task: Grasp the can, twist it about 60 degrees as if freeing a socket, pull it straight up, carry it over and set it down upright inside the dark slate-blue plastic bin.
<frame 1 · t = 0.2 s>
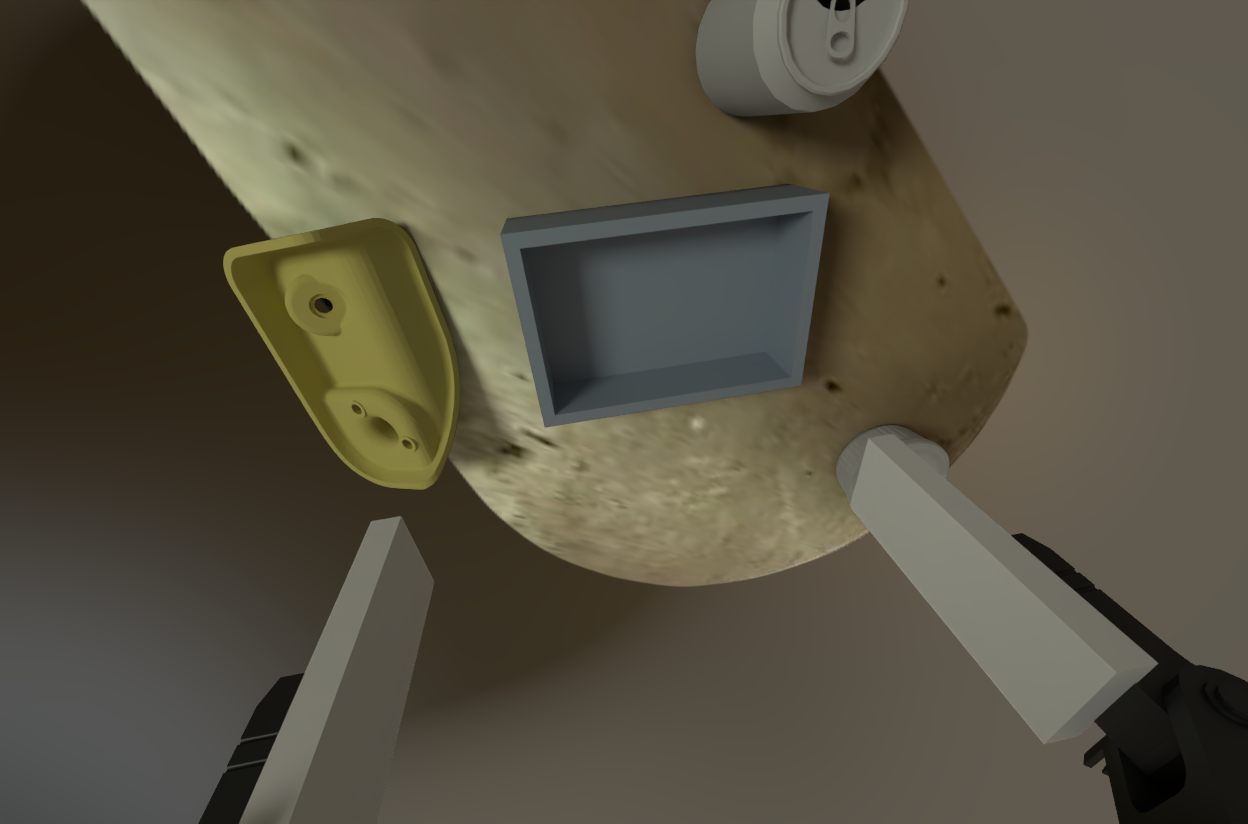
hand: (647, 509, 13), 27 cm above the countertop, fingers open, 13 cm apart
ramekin: (870, 454, 53), on the countertop
can: (744, 50, 30), on the countertop
bin: (656, 296, 38), on the countertop
plastic component: (374, 346, 37), on the countertop
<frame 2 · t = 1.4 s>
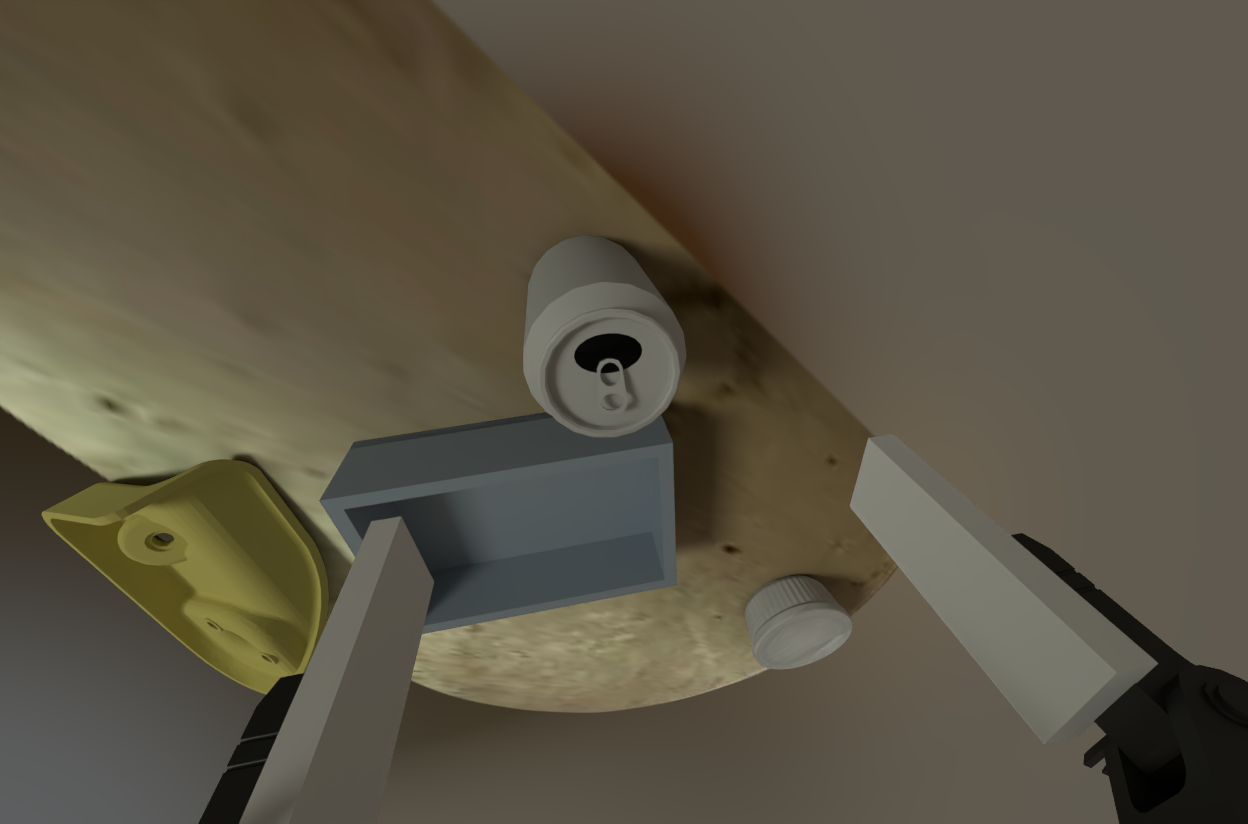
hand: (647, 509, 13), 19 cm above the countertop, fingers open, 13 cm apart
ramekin: (781, 597, 52), on the countertop
can: (586, 292, 29), on the countertop
bin: (528, 492, 37), on the countertop
plastic component: (238, 549, 36), on the countertop
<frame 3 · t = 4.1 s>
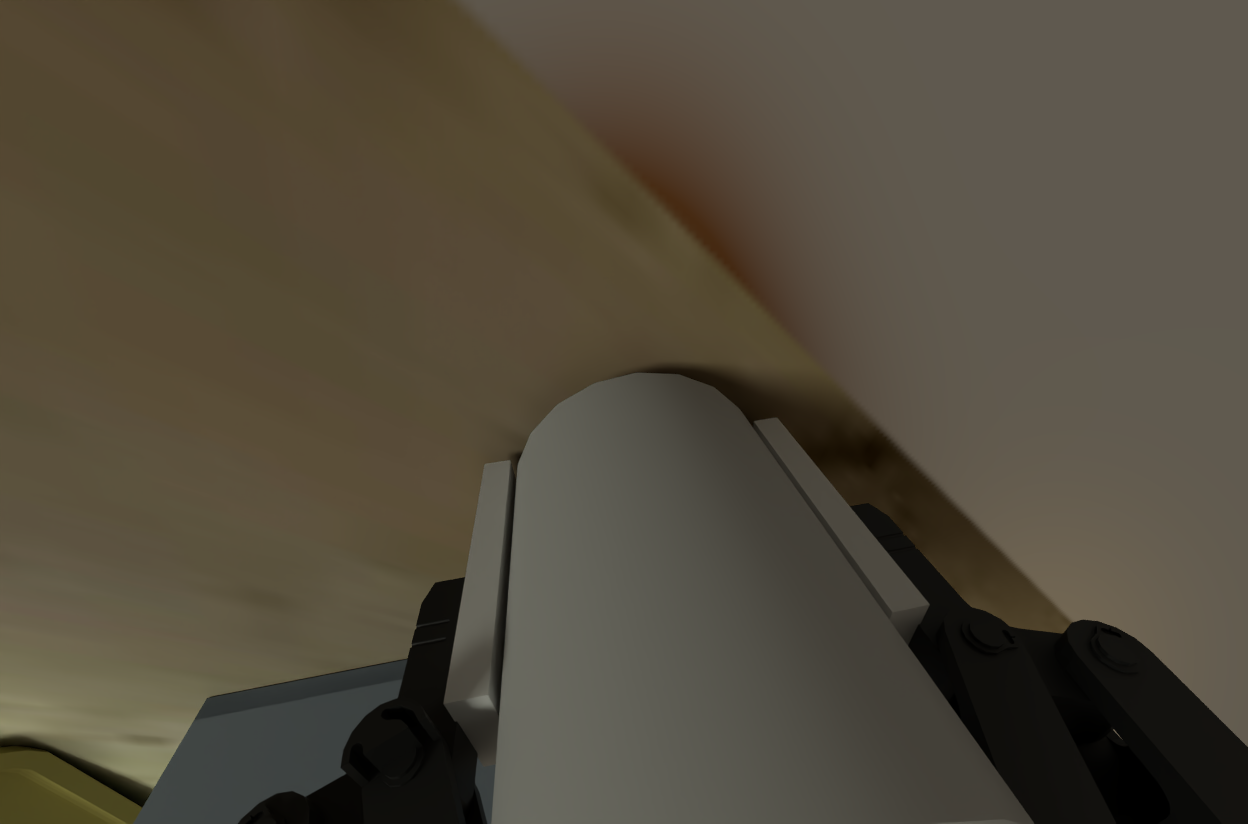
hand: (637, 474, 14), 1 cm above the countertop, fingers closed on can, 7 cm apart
can: (633, 457, 15), on the countertop, touching gripper
bin: (522, 724, 23), on the countertop
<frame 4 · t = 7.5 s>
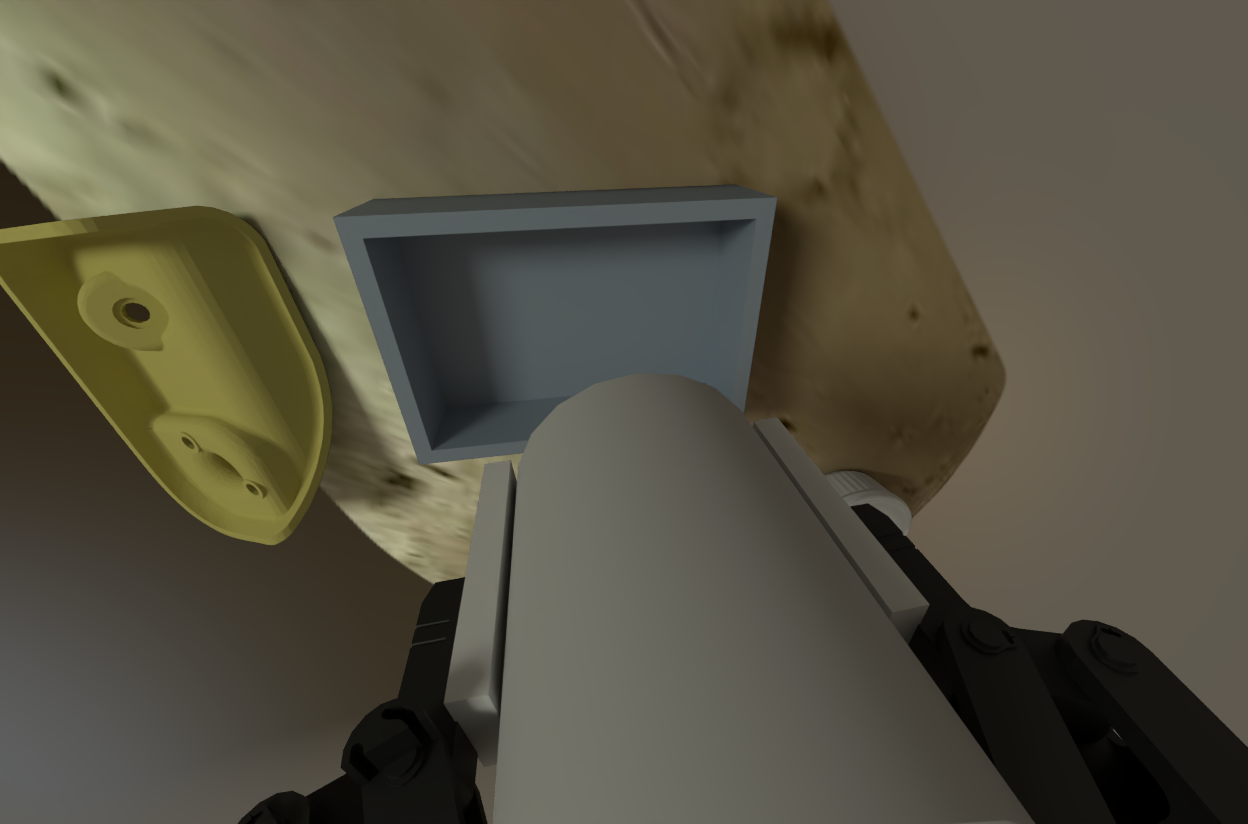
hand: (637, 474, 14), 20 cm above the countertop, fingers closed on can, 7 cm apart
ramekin: (826, 500, 47), on the countertop
can: (633, 458, 15), point 19 cm above the countertop, touching gripper
bin: (573, 309, 31), on the countertop
plastic component: (225, 363, 30), on the countertop
when the fingers open (3 cm above the countertop, at t = 11.0 s): can drops 2 cm, resting on bin.
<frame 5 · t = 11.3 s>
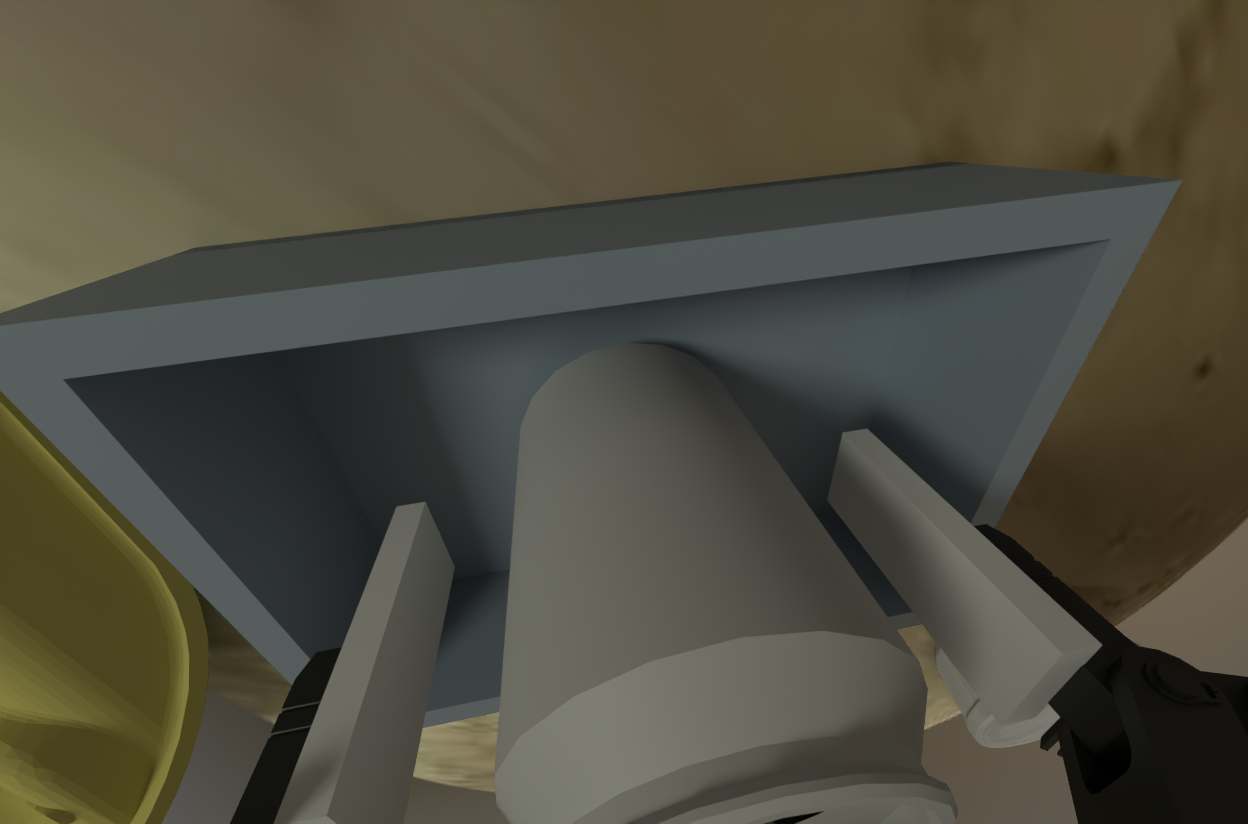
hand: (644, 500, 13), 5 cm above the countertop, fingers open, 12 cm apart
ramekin: (990, 625, 32), on the countertop
can: (624, 424, 16), point 1 cm above the countertop, touching bin
bin: (621, 416, 17), on the countertop
plastic component: (12, 564, 17), on the countertop
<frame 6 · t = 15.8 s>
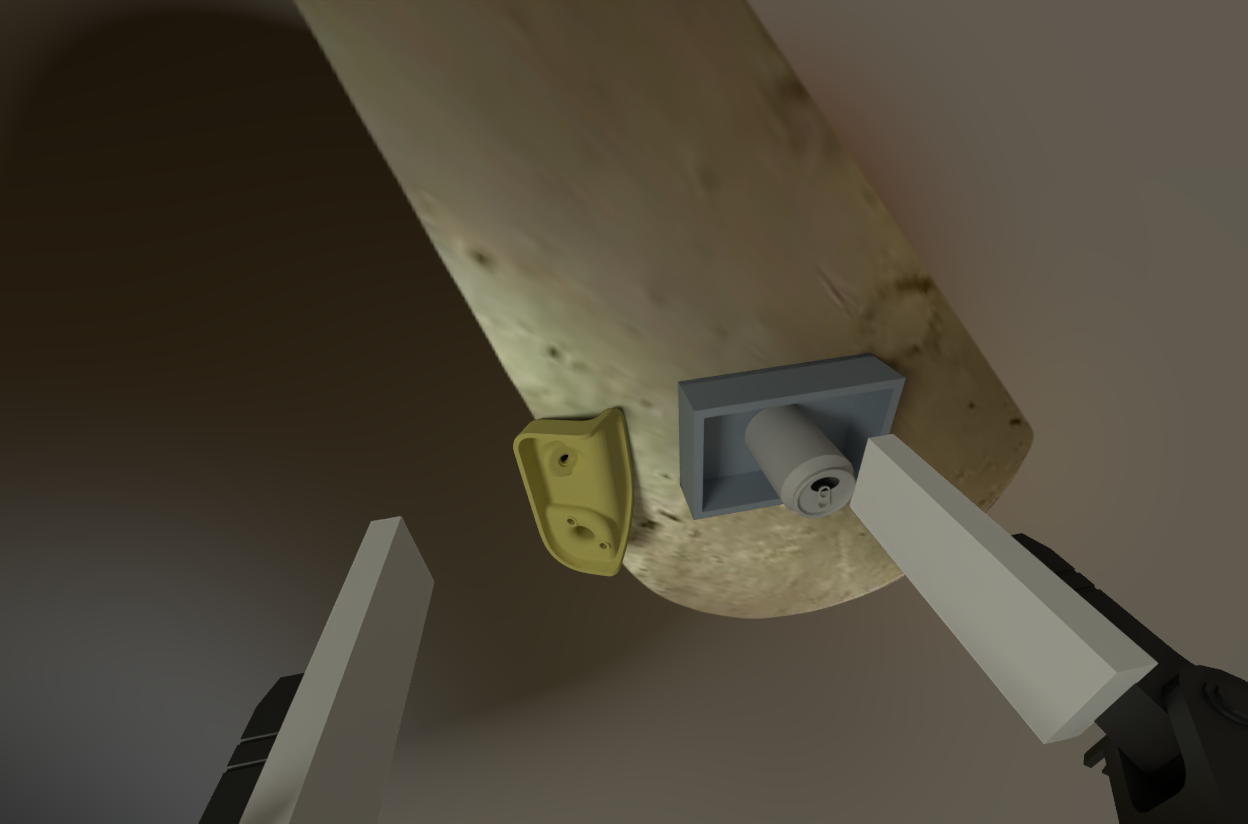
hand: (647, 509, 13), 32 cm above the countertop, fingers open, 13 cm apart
can: (771, 425, 52), point 1 cm above the countertop, touching bin
bin: (769, 423, 53), on the countertop
plastic component: (577, 474, 53), on the countertop
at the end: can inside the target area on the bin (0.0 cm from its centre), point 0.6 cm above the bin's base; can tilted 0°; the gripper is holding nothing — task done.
